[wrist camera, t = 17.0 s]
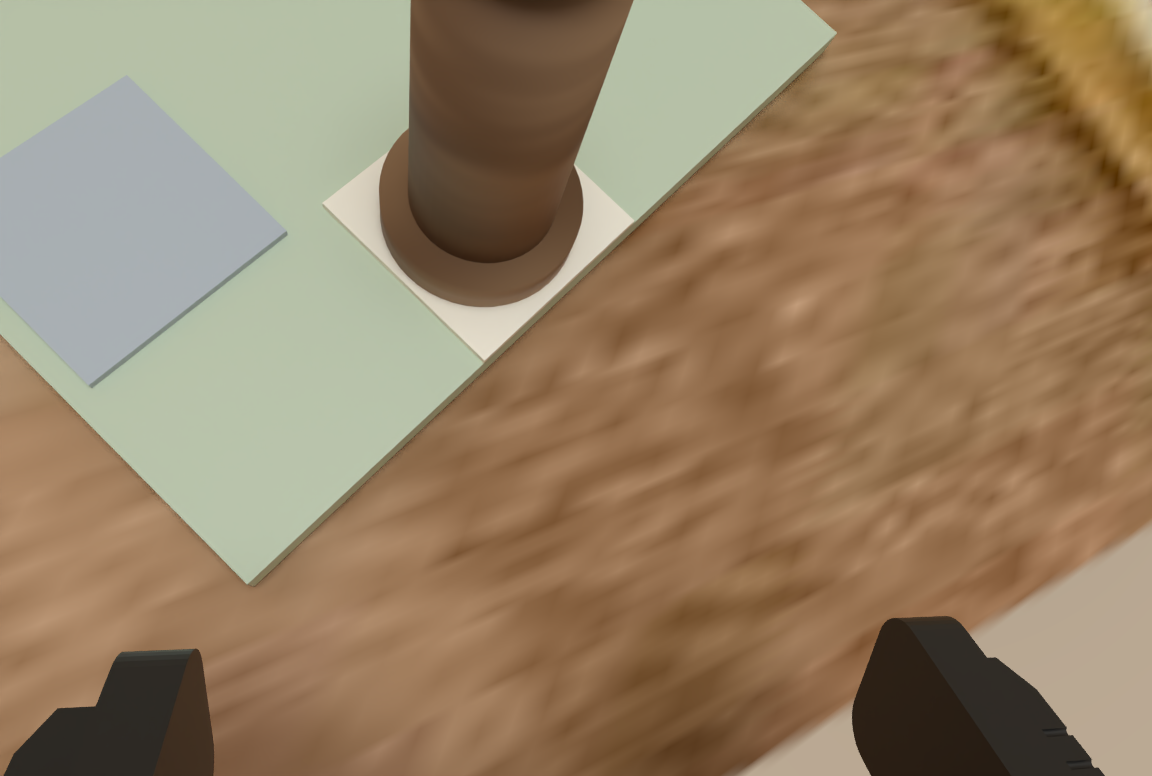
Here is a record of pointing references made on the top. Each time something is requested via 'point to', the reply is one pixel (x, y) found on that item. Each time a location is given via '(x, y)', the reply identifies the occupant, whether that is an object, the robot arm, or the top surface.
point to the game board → (295, 229)
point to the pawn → (494, 143)
